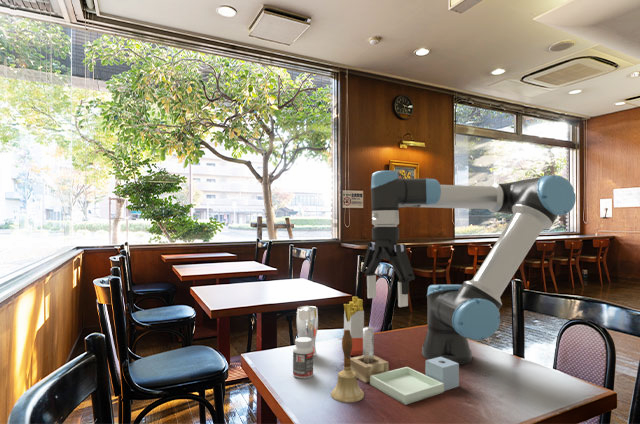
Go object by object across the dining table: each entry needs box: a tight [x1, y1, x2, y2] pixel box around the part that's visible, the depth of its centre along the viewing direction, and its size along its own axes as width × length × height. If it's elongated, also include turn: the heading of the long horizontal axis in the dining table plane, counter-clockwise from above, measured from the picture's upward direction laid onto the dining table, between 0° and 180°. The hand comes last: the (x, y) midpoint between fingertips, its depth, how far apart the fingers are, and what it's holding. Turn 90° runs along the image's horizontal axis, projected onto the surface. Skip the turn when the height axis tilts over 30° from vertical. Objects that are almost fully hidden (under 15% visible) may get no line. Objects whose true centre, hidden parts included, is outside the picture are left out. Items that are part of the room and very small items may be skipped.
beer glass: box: [296, 305, 319, 358], centre depth 123 cm, size 7×7×15 cm
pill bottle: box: [292, 337, 314, 379], centre depth 106 cm, size 6×6×10 cm
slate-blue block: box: [424, 357, 460, 392], centre depth 101 cm, size 6×6×6 cm
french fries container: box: [343, 296, 365, 357], centre depth 125 cm, size 5×11×18 cm, turn 9°
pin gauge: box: [362, 326, 375, 364], centre depth 107 cm, size 3×3×13 cm
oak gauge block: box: [350, 354, 390, 384], centre depth 107 cm, size 8×8×4 cm
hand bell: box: [330, 330, 365, 404], centre depth 94 cm, size 8×8×16 cm
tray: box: [369, 366, 445, 406], centre depth 98 cm, size 13×13×2 cm
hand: (386, 301), depth 106 cm, fingers open, 13 cm apart
